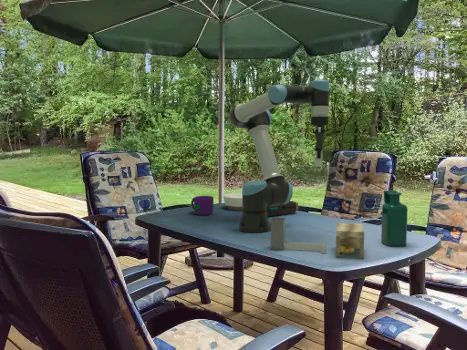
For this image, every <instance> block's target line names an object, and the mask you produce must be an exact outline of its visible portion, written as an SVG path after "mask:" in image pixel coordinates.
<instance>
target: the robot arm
mask: <svg viewBox="0 0 467 350" xmlns="http://www.w3.org/2000/svg"><path fill="white" fill-rule="evenodd" d="M282 104H295V105H305V104H310V105H311V106H310V115H311V117H310V125H311V126H316V128H315V130H314V135H315V136H314V137H315V141H316V142H315V148H314V149H313V150H314V152H315V164H314V165H315V167H323V150H325V147H324V146H323V139H324V134H325V129H324V128H323V126H328V125H330V122H329V120H330V118H329V116H330V111H331V108H330V82H329V80H328V79H314V80H312V81H311V85H308V86H300V85H287V84H272V85H271V86H270V87H269V89H268V91H266V92H265V93H263V94H261V95H259V96H256V97H254V98H253V99H250V100H249V101H246V102H245V103H238V104H236V105H234V106H233V107H232V108H231V109H230V111H229V114H228V119H229V122H230V123H231V125H233V126H234V127H236V128H237V129H246V131H247V133H248V135H249V136H251V138H252V141H253V145H254V149H255V152H256V155H257V159H258V162H259V165H260V170H261V173H262V177H263V179H262V180H261V179H259V180H258V179H257V180H251V181H247V182H245V183H244V184H243V185H242V191H241V193H242V209H243V211H241V212H242V214H241V217H240V220H239V223H238V230H239V231H240V232H243V233H244V232H245V233H251V234H254V233H256V234H257V233H265V232H269V231H271V222H270V221H269V217H267V213H266V209H267V207H268V206H277V205H283V204H287V203H288V202H290V201H292V197H293V194H294V190H293V189H294V188H293V186H292V183H290V181H288V180H286V178H285V176H284V175H283V174H281V172H280V169H279V165H278V162H277V159H276V156H275V151H274V148H273V144H272V141H271V138H270V134H269V130H270V129H271V128H270V127H271V125H272V120H273V118H272V114H271V111H270V110H271V109H273V108H275V107H277V106H280V105H282Z"/></svg>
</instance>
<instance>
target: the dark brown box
mask: <svg viewBox="0 0 467 350" xmlns="http://www.w3.org/2000/svg"><path fill="white" fill-rule="evenodd" d="M298 211H299V202H297V201H294V200H293V201H292V200H290V202H288V203H287V204H283V205H277V206H268V207H267V209H266V213H267V217H268V218H269V217H281V216H283V215H285V216H286V215H290V214H292V215H293V214H294V213H296V212H298Z"/></svg>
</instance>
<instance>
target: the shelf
mask: <svg viewBox="0 0 467 350" xmlns="http://www.w3.org/2000/svg"><path fill="white" fill-rule="evenodd" d="M335 231H336V234H335V235H336V236H335V237H336V238H335V257H336V258H340V253H339V245H344V244H347V245H353V246H355V250H357V249H358V250H359V258H360V259H362V260H363V259H364V257H365V256H364V255H365V254H364V251H365V229H364V224H363V223H350V222H349V223H348V222H336V229H335Z"/></svg>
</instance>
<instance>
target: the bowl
mask: <svg viewBox="0 0 467 350" xmlns="http://www.w3.org/2000/svg"><path fill="white" fill-rule="evenodd" d="M222 197H223V201H224V204H225V206H226V208H227V210H229V211H234V212H235V211H236V212H243V209H242V192H231V193H226V194H224V195H223V196H222Z"/></svg>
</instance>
